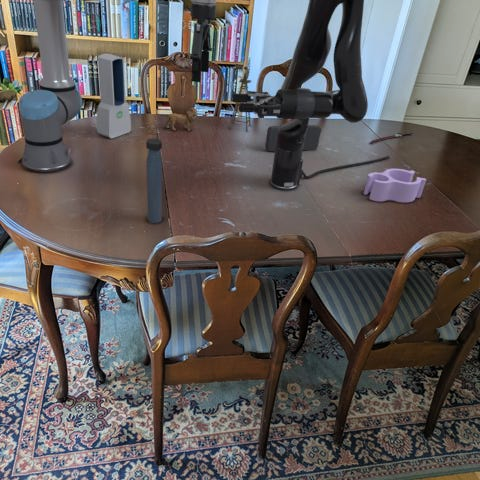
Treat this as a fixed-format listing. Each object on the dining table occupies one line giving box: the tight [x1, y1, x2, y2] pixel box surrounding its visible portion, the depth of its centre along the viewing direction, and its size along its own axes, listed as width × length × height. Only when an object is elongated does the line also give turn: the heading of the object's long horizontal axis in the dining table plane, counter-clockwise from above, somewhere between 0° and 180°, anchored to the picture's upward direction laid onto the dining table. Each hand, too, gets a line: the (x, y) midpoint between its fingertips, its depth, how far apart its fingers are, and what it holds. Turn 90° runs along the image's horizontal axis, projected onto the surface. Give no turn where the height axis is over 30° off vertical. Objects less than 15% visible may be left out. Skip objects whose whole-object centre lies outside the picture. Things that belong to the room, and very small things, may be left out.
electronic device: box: [95, 53, 132, 139], centre depth 180 cm, size 12×8×30 cm, turn 148°
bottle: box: [146, 149, 163, 224], centre depth 129 cm, size 4×4×24 cm
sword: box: [370, 132, 414, 145], centre depth 214 cm, size 31×3×1 cm, turn 126°
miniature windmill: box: [228, 58, 252, 132], centre depth 200 cm, size 9×8×30 cm
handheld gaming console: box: [264, 124, 322, 152], centre depth 189 cm, size 23×3×10 cm, turn 108°
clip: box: [362, 168, 427, 203], centre depth 162 cm, size 20×12×7 cm, turn 109°
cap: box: [145, 138, 163, 151], centre depth 123 cm, size 4×4×2 cm
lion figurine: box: [162, 107, 198, 132], centre depth 197 cm, size 15×5×9 cm, turn 110°
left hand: (200, 76), depth 151 cm, fingers open, 13 cm apart
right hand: (235, 102), depth 122 cm, fingers open, 8 cm apart
